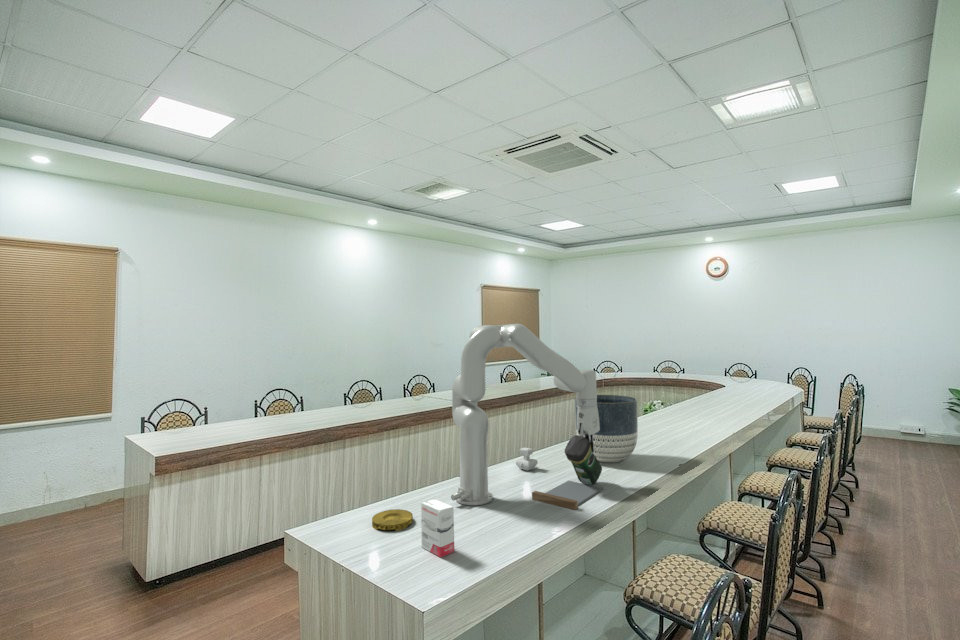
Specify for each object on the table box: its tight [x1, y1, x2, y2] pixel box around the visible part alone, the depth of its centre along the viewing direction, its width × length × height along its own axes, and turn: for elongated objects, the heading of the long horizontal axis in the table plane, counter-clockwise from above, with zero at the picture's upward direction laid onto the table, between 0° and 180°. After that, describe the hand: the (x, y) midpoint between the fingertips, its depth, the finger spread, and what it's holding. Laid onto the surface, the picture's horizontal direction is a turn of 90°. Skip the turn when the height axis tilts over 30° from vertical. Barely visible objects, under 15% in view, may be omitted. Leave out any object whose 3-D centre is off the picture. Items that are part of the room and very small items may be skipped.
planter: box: [574, 394, 639, 463], centre depth 204 cm, size 27×27×27 cm
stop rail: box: [531, 490, 579, 511], centre depth 153 cm, size 2×16×2 cm, turn 51°
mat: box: [545, 480, 604, 506], centre depth 162 cm, size 21×14×1 cm, turn 141°
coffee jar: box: [564, 434, 603, 486], centre depth 168 cm, size 10×8×19 cm
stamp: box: [515, 447, 538, 472], centre depth 192 cm, size 9×7×8 cm
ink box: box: [420, 498, 455, 558], centre depth 122 cm, size 8×5×12 cm, turn 43°
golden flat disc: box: [371, 508, 414, 532], centre depth 139 cm, size 12×12×2 cm
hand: (588, 452), depth 172 cm, fingers closed
